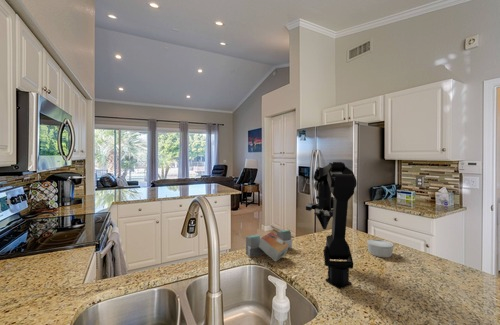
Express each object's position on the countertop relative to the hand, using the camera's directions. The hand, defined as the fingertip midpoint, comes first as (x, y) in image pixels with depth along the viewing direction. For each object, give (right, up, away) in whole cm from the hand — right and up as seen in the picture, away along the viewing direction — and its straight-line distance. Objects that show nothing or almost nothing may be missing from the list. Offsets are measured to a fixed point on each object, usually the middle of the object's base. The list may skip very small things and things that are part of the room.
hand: (324, 229), depth 106 cm
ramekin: (+28, -13, +5) cm, 31 cm away
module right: (-16, -13, +13) cm, 25 cm away
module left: (-32, -13, +4) cm, 35 cm away
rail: (-23, -13, +7) cm, 28 cm away
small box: (-19, -10, -3) cm, 22 cm away
